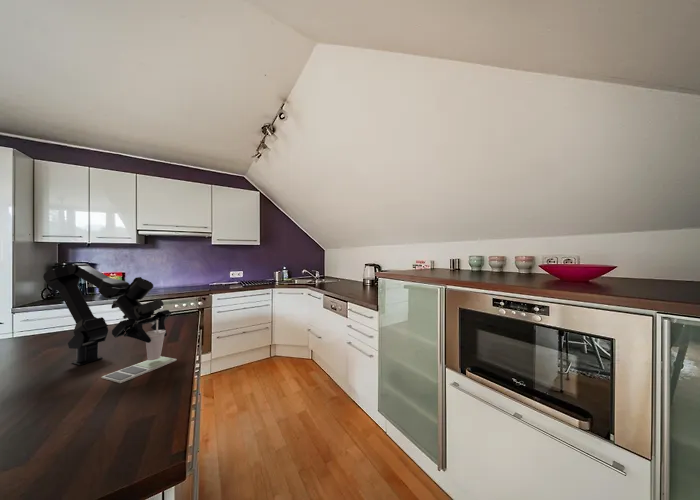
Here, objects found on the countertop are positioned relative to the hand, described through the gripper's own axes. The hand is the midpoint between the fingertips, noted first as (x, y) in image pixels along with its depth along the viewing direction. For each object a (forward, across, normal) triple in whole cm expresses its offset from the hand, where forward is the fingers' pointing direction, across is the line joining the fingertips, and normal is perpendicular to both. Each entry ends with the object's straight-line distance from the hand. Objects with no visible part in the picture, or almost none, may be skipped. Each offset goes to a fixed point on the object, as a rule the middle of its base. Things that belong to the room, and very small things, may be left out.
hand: (158, 338), depth 90 cm
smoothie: (+4, 0, +6) cm, 7 cm away
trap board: (+5, -4, +8) cm, 10 cm away
